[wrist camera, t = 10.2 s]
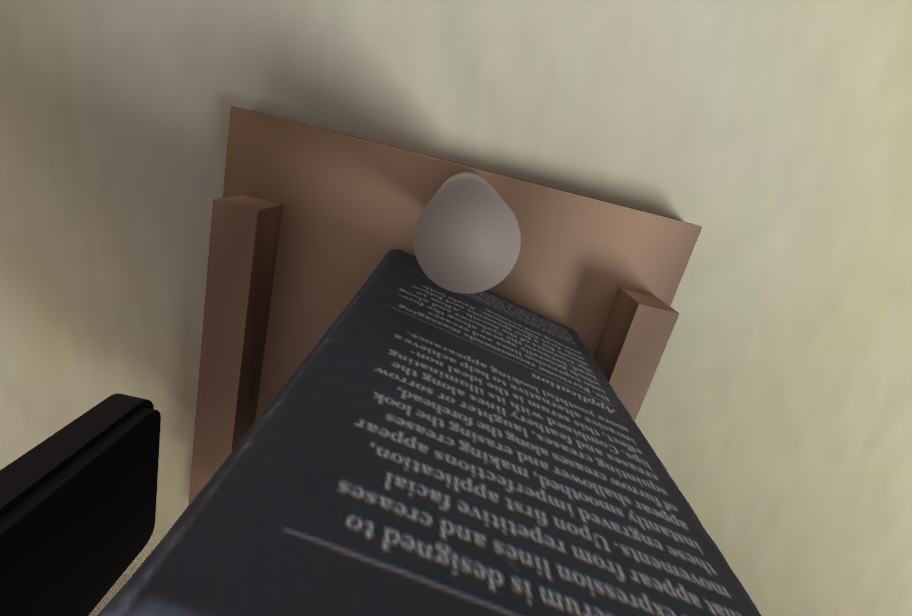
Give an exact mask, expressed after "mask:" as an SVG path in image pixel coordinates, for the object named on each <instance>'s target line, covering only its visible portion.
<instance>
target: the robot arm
mask: <svg viewBox="0 0 912 616" xmlns="http://www.w3.org/2000/svg"><path fill="white" fill-rule="evenodd" d="M160 421H161V417H160V413H159V411H157V410H154V408H153V404H152V402H151V401H149V400H146V399H141V398H137V397H132V396H128V395H123V394H114V395H112V396H110V397H108V398H107V399H105V400H104V401H102V402H101V403H99V404H98V405H96V406H95V407H93V408H92V409H90V410H89V411H87V412H86V413H84V414H83V415H82V416H80V417H79V418H77V419H76V420H74V421H73V422H71V423H70V424H68V425H67V426H65V427H64V428H62V429H61V430H59V431H58V432H56V433H55V434H53V435H52V436H51V437H49V438H48V439H46V440H45V441H43V442H42V443H40V444H39V445H37V446H36V447H34V448H33V449H31V450H30V451H28V452H27V453H25V454H24V455H22V456H21V457H20V458H18V459H17V460H15V461H14V462H12V463H11V464H9V465H8V466H6V467H5V468H3V469H2V470H0V616H88V615H89V614H90V613H91V611H92V610H93V609H94V608H95V607H96V605H97V604H98V603H99V602H100V600H101V599H102V598H103V597H104V596H105V594H106V593H107V592H108V591H109V589H110V588H111V587H112V586H113V585H114V583H115V582H116V581H117V580H118V579H119V577H120V576H121V575H122V574H123V572H124V571H125V570H126V569H127V568H128V566H129V565H130V564H131V563H132V561H133V560H134V559H135V558H136V557H137V555H138V554H139V553H140V552H141V550H142V549H143V548H144V547H145V545H146V544H147V543H148V541H149V539H150V537H151V535H152V533H153V530H154V526H155V513H156V495H157V476H158V458H159V439H160Z"/></svg>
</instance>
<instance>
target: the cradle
mask: <svg viewBox="0 0 912 616" xmlns="http://www.w3.org/2000/svg"><path fill="white" fill-rule="evenodd" d="M701 229H702V227H701V226H697V225H694V224H691V223H687V222H684V221H680V220H676V219H672V218H668V217H664V216H660V215H656V214H653V213H649V212H645V211H641V210H637V209H633V208H629V207H625V206H621V205H617V204H614V203H610V202H606V201H602V200H598V199H594V198H590V197H586V196H582V195H578V194H575V193H571V192H567V191H563V190H559V189H555V188H551V187H547V186H543V185H539V184H535V183H532V182H528V181H524V180H520V179H516V178H512V177H508V176H504V175H500V174H496V173H493V172H489V171H485V170H481V169H477V168H473V167H469V166H465V165H461V164H457V163H454V162H450V161H446V160H442V159H438V158H434V157H430V156H426V155H422V154H418V153H415V152H411V151H407V150H403V149H399V148H395V147H391V146H387V145H383V144H379V143H376V142H372V141H368V140H364V139H360V138H356V137H352V136H348V135H344V134H340V133H337V132H333V131H329V130H325V129H321V128H317V127H313V126H309V125H305V124H301V123H297V122H294V121H290V120H286V119H282V118H278V117H274V116H270V115H266V114H262V113H258V112H255V111H251V110H246V109H242V108H237V107H232V106H231V114H230V125H229V137H228V148H227V159H226V171H225V182H224V194H223V198H221V199H215V200H213V211H212V223H211V236H210V248H209V261H208V273H207V285H206V298H205V310H204V322H203V335H202V347H201V359H200V372H199V384H198V397H197V409H196V421H195V434H194V446H193V458H192V471H191V483H190V495H189V505H190V504H191V502H192V501H193V500H194V499H195V498H196V496H197V495H198V494H199V493H200V491H201V490H202V489H203V488H204V486H205V485H206V484H207V483H208V482H209V480H210V479H211V478H212V476H213V475H214V474H215V473H216V471H217V470H218V469H219V468H220V466H221V465H222V464H223V462H224V461H225V460H226V459H227V457H228V456H229V455H230V454H231V452H232V451H233V450H234V448H235V447H236V446H237V445H238V443H239V442H240V441H241V439H242V438H243V437H244V436H245V434H246V433H247V432H248V430H249V429H250V428H251V427H252V425H253V424H254V423H255V422H256V420H257V419H258V418H259V416H260V415H261V414H262V412H263V411H264V410H265V408H266V407H267V405H268V404H269V403H270V402H271V401H272V400H273V399H274V397H275V396H276V395H277V394H278V393H279V391H280V390H281V389H282V388H283V386H284V385H285V384H286V382H287V381H288V380H289V379H290V377H291V376H292V375H293V373H294V372H295V370H296V369H297V368H298V366H299V365H300V364H301V363H302V362H303V360H304V359H305V358H306V357H307V355H308V354H309V352H310V351H311V350H312V349H313V348H314V347H315V346H316V345H317V343H318V342H319V340H320V339H321V338H322V336H323V335H324V334H325V332H326V331H327V330H328V328H329V327H330V326H331V325H332V323H333V322H334V321H335V320H336V319H337V318H338V316H339V315H340V314H341V312H342V311H343V310H344V309H345V307H346V306H347V305H348V304H349V303H350V302H351V300H352V299H353V297H354V296H355V295H356V293H357V292H358V291H359V289H360V288H361V287H362V285H363V284H364V283H365V282H366V280H367V279H368V277H369V276H370V275H371V274H372V272H373V271H374V270H375V269H376V267H377V266H378V264H379V263H380V262H381V261H382V259H383V258H384V256H385V255H386V254H387V253H388V252H389V251H390V250H392V249H399V250H402V251H404V252H406V253H408V254H410V255H413V256H415V257H416V258H417V261H418V263H419V265H420V267H421V269H422V270H423V272H424V273H425V274H426V275H427V276H428V278H429V279H430V280H432V281H433V282H434V283H435V284H437V285H438V286H440V287H442V288H444V289H446V290H449V291H452V292H456V293H463V294H471V293H478V292H482V291H485V290H488V291H490V292H493V293H495V294H497V295H499V296H501V297H504V298H506V299H508V300H510V301H512V302H514V303H516V304H518V305H520V306H523V307H526V308H528V309H529V310H531V311H533V312H535V313H538V314H541V315H543V316H545V317H547V318H549V319H551V320H553V321H555V322H558V323H560V324H563V325H565V326H567V327H569V328H571V329H573V330H574V331H575V332H576V333H577V335H578V336H579V338H580V340H581V341H582V342H583V344H584V345H585V347H586V348H587V350H588V351H589V353H590V354H591V356H592V357H593V358H594V360H595V362H596V363H597V365H598V367H599V368H600V370H601V371H602V373H603V374H604V376H605V377H606V378H607V380H608V382H609V383H610V385H611V386H612V388H613V390H614V391H615V393H616V395H617V396H618V398H619V399H620V400H621V402H622V403H623V405H624V406H625V408H626V409H627V410H628V412H629V414H630V415H631V417H632V419H633V420H634V421H635V419H636V416H637V414H638V412H639V409H640V407H641V404H642V402H643V400H644V397H645V395H646V392H647V390H648V388H649V385H650V383H651V380H652V378H653V376H654V373H655V371H656V368H657V366H658V364H659V361H660V359H661V356H662V354H663V352H664V349H665V347H666V344H667V342H668V340H669V337H670V335H671V332H672V330H673V328H674V325H675V323H676V320H677V318H678V316H679V313H678V312H677V311H675V310H674V309H672V308H671V307H670V305H671V302H672V300H673V298H674V295H675V293H676V290H677V288H678V285H679V283H680V280H681V278H682V275H683V273H684V271H685V268H686V266H687V263H688V261H689V258H690V256H691V253H692V251H693V248H694V246H695V244H696V241H697V239H698V236H699V234H700V231H701Z"/></svg>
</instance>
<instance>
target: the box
mask: <svg viewBox="0 0 912 616" xmlns="http://www.w3.org/2000/svg"><path fill="white" fill-rule="evenodd" d="M97 616H761V615H760V613H759V611H758V610H757V608H756V606H755V605H754V603H753V602H752V600H751V598H750V597H749V595H748V594H747V592H746V591H745V589H744V587H743V586H742V584H741V583H740V581H739V580H738V578H737V577H736V576H735V574H734V573H733V571H732V570H731V568H730V567H729V565H728V563H727V562H726V560H725V558H724V557H723V555H722V553H721V552H720V550H719V549H718V547H717V546H716V544H715V543H714V541H713V540H712V539H711V537H710V536H709V535H708V533H707V532H706V531H705V529H704V528H703V526H702V524H701V523H700V521H699V519H698V518H697V516H696V514H695V513H694V511H693V509H692V508H691V506H690V505H689V503H688V502H687V500H686V499H685V497H684V496H683V494H682V493H681V492H680V490H679V489H678V487H677V485H676V484H675V482H674V481H673V480H672V478H671V477H670V475H669V474H668V472H667V470H666V469H665V467H664V466H663V464H662V463H661V461H660V460H659V458H658V457H657V455H656V454H655V452H654V450H653V449H652V447H651V446H650V444H649V443H648V441H647V440H646V438H645V437H644V435H643V434H642V432H641V431H640V429H639V428H638V426H637V425H636V423H635V422H634V420H633V419H632V417H631V415H630V414H629V412H628V410H627V409H626V408H625V406H624V405H623V403H622V402H621V400H620V399H619V398H618V396H617V395H616V393H615V391H614V390H613V388H612V386H611V385H610V383H609V382H608V380H607V378H606V377H605V376H604V374H603V373H602V371H601V370H600V368H599V367H598V365H597V363H596V362H595V360H594V358H593V357H592V356H591V354H590V353H589V351H588V350H587V348H586V347H585V345H584V344H583V342H582V341H581V340H580V338H579V336H578V335H577V333H576V332H575V331H574V330H573V329H571V328H569V327H567V326H565V325H563V324H560V323H558V322H555V321H553V320H551V319H549V318H547V317H545V316H543V315H541V314H538V313H535V312H533V311H531V310H529V309H528V308H526V307H523V306H520V305H518V304H516V303H514V302H512V301H510V300H508V299H506V298H504V297H501V296H499V295H497V294H495V293H493V292H490V291H488V290H485V291H482V292H478V293H471V294H463V293H456V292H452V291H449V290H446V289H444V288H442V287H440V286H438V285H437V284H435V283H434V282H433V281H432V280H430V279H429V278H428V276H427V275H426V274H425V273H424V272H423V270H422V269H421V267H420V265H419V263H418V261H417V258H416V257H415V256H413V255H410V254H408V253H406V252H404V251H402V250H399V249H392V250H390V251H389V252H388V253H387V254H386V255H385V256H384V258H383V259H382V261H381V262H380V263H379V264H378V266H377V267H376V269H375V270H374V271H373V272H372V274H371V275H370V276H369V277H368V279H367V280H366V282H365V283H364V284H363V285H362V287H361V288H360V289H359V291H358V292H357V293H356V295H355V296H354V297H353V299H352V300H351V302H350V303H349V304H348V305H347V306H346V307H345V309H344V310H343V311H342V312H341V314H340V315H339V316H338V318H337V319H336V320H335V321H334V322H333V323H332V325H331V326H330V327H329V328H328V330H327V331H326V332H325V334H324V335H323V336H322V338H321V339H320V340H319V342H318V343H317V345H316V346H315V347H314V348H313V349H312V350H311V351H310V352H309V354H308V355H307V357H306V358H305V359H304V360H303V362H302V363H301V364H300V365H299V366H298V368H297V369H296V370H295V372H294V373H293V375H292V376H291V377H290V379H289V380H288V381H287V382H286V384H285V385H284V386H283V388H282V389H281V390H280V391H279V393H278V394H277V395H276V396H275V397H274V399H273V400H272V401H271V402H270V403H269V404H268V405H267V407H266V408H265V410H264V411H263V412H262V414H261V415H260V416H259V418H258V419H257V420H256V422H255V423H254V424H253V425H252V427H251V428H250V429H249V430H248V432H247V433H246V434H245V436H244V437H243V438H242V439H241V441H240V442H239V443H238V445H237V446H236V447H235V448H234V450H233V451H232V452H231V454H230V455H229V456H228V457H227V459H226V460H225V461H224V462H223V464H222V465H221V466H220V468H219V469H218V470H217V471H216V473H215V474H214V475H213V476H212V478H211V479H210V480H209V482H208V483H207V484H206V485H205V486H204V488H203V489H202V490H201V491H200V493H199V494H198V495H197V496H196V498H195V499H194V500H193V501H192V502H191V504H190V505H189V506H188V507H187V509H186V510H185V511H184V513H183V514H182V515H181V516H180V518H179V519H178V520H177V521H176V523H175V524H174V525H173V526H172V528H171V529H170V530H169V532H168V533H167V534H166V535H165V537H164V538H163V539H162V540H161V541H160V543H159V544H158V545H157V546H156V548H155V549H154V550H153V551H152V552H151V554H150V555H149V556H148V557H147V558H146V560H145V561H144V562H143V563H142V565H141V566H140V567H139V568H138V569H137V571H136V572H135V573H134V574H133V575H132V577H131V578H130V579H129V580H128V582H127V583H126V584H125V585H124V586H123V587H122V588H121V590H120V591H119V592H118V593H117V594H116V595H115V596H114V597H113V599H112V600H111V601H110V602H109V603H108V604H107V605H106V606H105V607H104V609H103V610H102V611H101V612H100V613H99V614H98V615H97Z"/></svg>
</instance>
